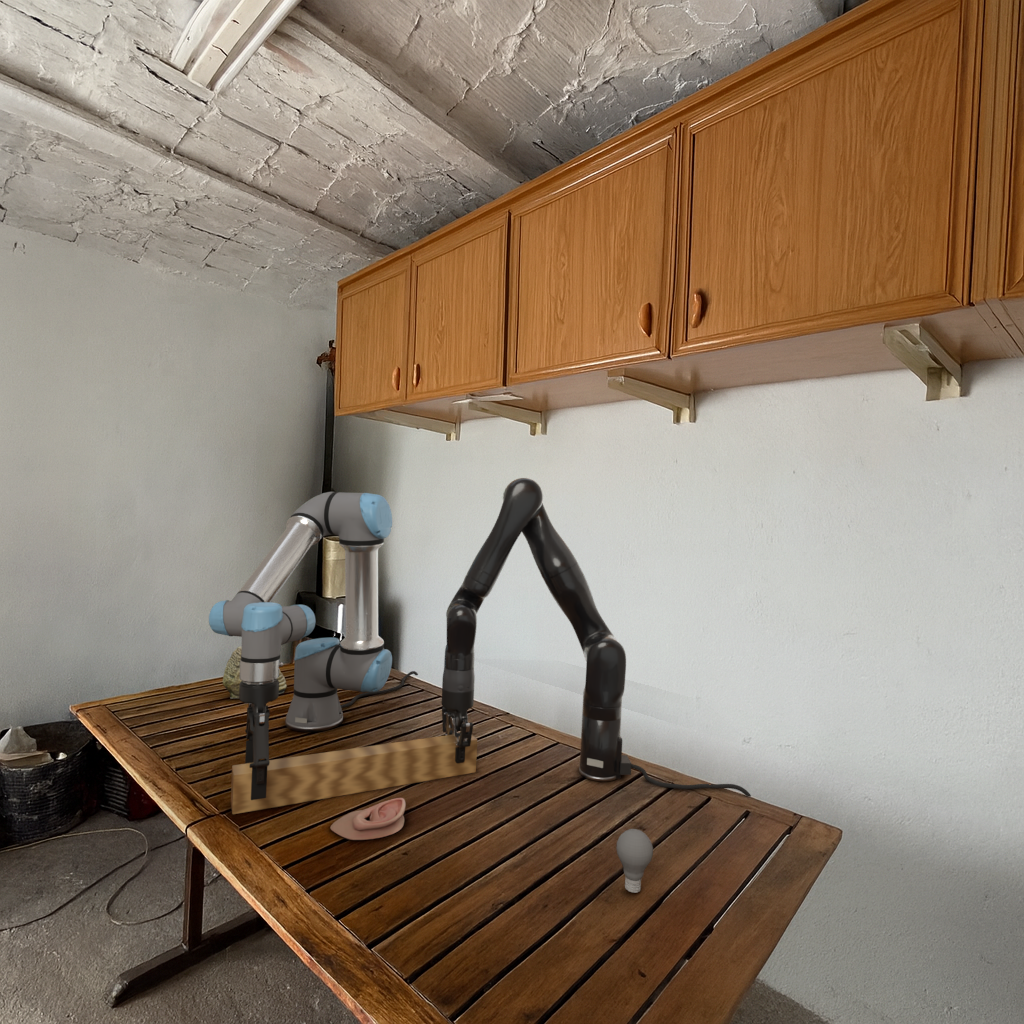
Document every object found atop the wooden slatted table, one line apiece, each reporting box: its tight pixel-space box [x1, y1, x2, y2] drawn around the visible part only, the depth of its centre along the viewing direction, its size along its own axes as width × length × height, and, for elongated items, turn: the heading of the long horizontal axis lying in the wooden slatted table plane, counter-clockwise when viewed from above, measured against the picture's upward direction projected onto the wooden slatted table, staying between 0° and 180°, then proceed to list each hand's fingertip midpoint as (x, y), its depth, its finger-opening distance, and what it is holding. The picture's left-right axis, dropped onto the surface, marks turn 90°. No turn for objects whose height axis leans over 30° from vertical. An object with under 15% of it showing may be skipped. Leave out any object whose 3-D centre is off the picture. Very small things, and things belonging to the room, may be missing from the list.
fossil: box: [222, 646, 288, 699], centre depth 198 cm, size 9×18×15 cm, turn 132°
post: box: [230, 734, 478, 815], centre depth 139 cm, size 53×5×8 cm, turn 117°
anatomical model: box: [330, 797, 407, 841], centre depth 123 cm, size 13×4×12 cm
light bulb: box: [615, 828, 654, 894], centre depth 106 cm, size 6×6×10 cm
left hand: (254, 784), depth 129 cm, fingers open, 13 cm apart
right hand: (455, 757), depth 149 cm, fingers closed on post, 5 cm apart
